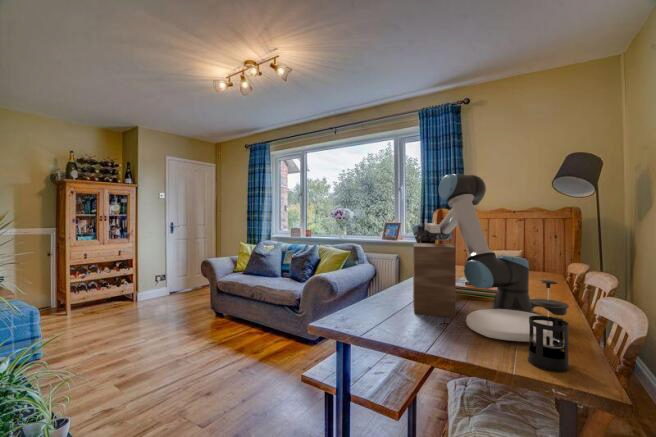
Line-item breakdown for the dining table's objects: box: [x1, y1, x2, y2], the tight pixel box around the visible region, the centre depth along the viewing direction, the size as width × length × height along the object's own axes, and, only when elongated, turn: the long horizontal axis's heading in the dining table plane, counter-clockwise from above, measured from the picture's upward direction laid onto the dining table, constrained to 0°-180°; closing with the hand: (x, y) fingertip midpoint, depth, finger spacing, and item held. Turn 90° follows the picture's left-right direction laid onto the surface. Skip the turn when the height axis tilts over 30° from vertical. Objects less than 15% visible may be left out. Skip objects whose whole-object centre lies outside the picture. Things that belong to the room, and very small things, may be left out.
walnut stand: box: [412, 242, 457, 318], centre depth 135 cm, size 16×16×28 cm
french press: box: [527, 279, 571, 373], centre depth 86 cm, size 12×9×23 cm
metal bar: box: [426, 222, 440, 233], centre depth 139 cm, size 32×4×3 cm, turn 166°
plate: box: [465, 308, 553, 343], centre depth 110 cm, size 28×6×27 cm
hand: (430, 221), depth 145 cm, fingers closed on metal bar, 3 cm apart
